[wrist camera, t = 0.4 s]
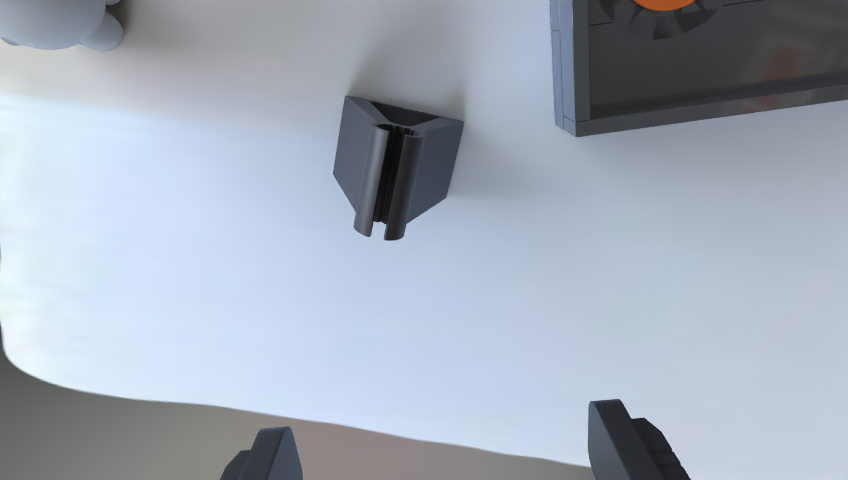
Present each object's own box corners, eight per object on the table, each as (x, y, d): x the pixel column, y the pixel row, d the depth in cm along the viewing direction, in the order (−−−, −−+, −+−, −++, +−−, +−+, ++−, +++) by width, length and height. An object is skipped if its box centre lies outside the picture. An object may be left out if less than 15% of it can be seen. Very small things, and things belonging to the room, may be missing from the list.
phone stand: (333, 172, 39) (296, 222, 27) (346, 94, 37) (311, 114, 25) (445, 196, 39) (454, 255, 28) (464, 121, 37) (481, 152, 26)
